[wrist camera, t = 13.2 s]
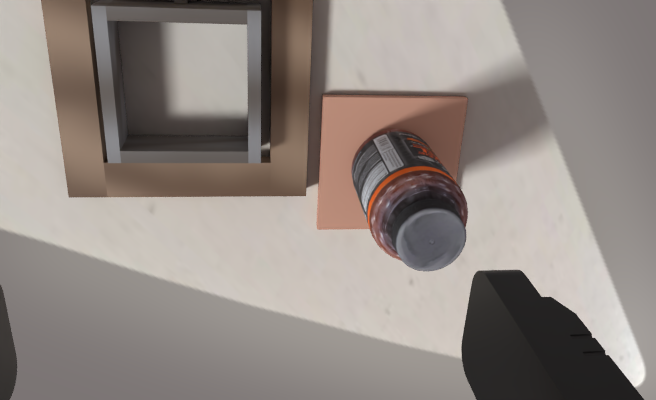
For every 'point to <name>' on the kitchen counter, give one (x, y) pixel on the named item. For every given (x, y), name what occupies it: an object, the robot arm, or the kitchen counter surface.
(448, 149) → the mat
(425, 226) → the supplement bottle
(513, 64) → the kitchen counter surface
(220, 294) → the kitchen counter surface
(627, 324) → the kitchen counter surface
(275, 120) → the wooden square tray
